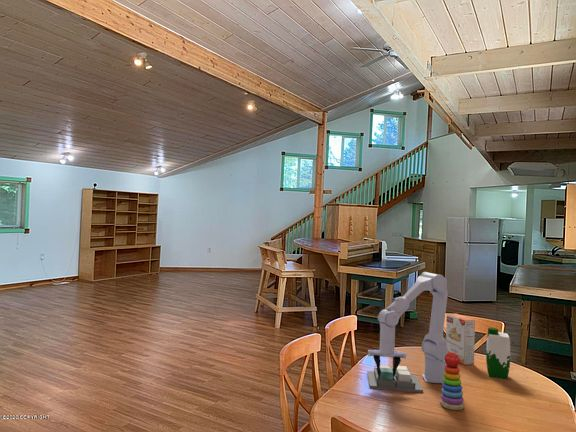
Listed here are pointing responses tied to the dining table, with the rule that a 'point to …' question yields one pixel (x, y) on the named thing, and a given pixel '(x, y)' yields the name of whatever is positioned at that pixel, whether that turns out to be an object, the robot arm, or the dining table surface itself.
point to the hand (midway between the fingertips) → (386, 375)
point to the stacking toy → (452, 384)
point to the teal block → (386, 374)
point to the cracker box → (461, 337)
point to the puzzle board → (395, 380)
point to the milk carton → (498, 354)
